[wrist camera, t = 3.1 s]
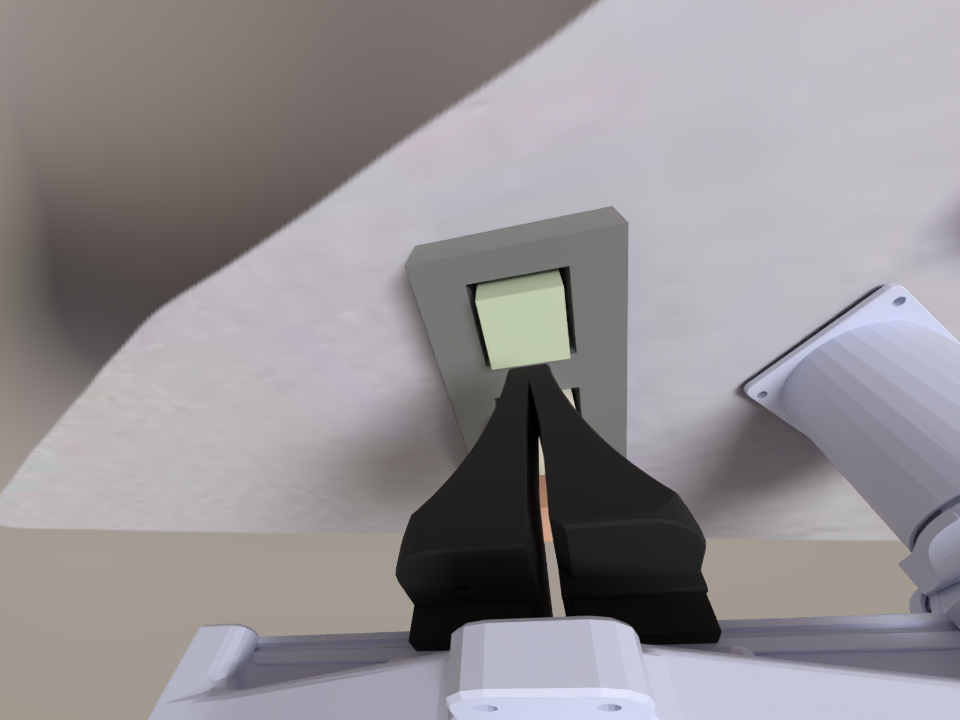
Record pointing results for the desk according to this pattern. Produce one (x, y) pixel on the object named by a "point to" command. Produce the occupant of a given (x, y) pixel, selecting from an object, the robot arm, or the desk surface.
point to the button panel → (590, 303)
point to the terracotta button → (544, 509)
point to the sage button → (524, 319)
